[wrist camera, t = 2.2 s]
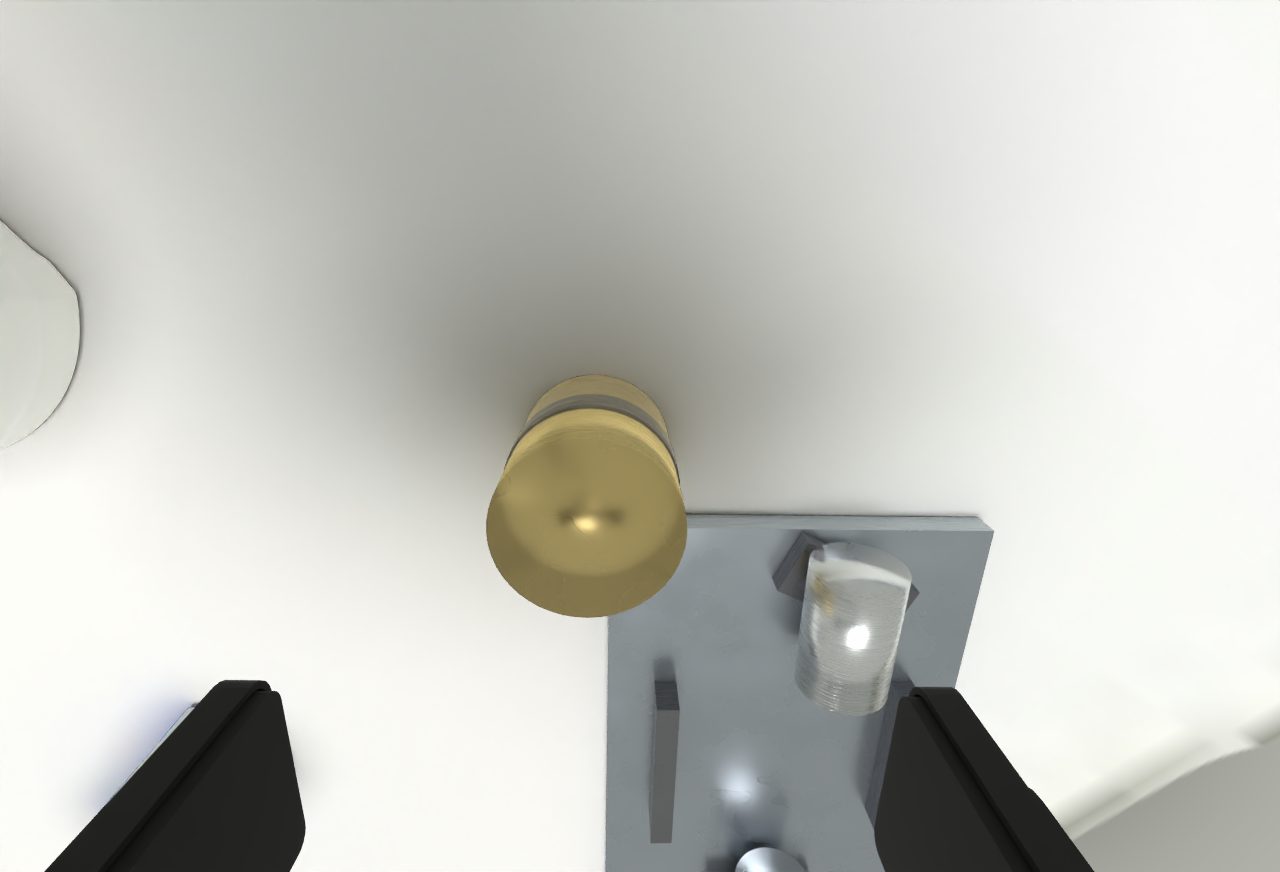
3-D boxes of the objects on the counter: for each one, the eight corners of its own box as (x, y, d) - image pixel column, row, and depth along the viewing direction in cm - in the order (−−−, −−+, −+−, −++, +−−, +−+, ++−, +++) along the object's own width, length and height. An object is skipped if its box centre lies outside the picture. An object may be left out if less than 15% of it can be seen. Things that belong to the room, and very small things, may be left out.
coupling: (518, 371, 19) (477, 435, 14) (672, 374, 20) (695, 438, 14) (524, 511, 21) (489, 619, 15) (666, 512, 21) (683, 619, 16)
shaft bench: (610, 513, 21) (608, 584, 17) (977, 517, 22) (1060, 586, 18) (605, 892, 27) (603, 1009, 23) (888, 888, 28) (934, 1001, 24)
